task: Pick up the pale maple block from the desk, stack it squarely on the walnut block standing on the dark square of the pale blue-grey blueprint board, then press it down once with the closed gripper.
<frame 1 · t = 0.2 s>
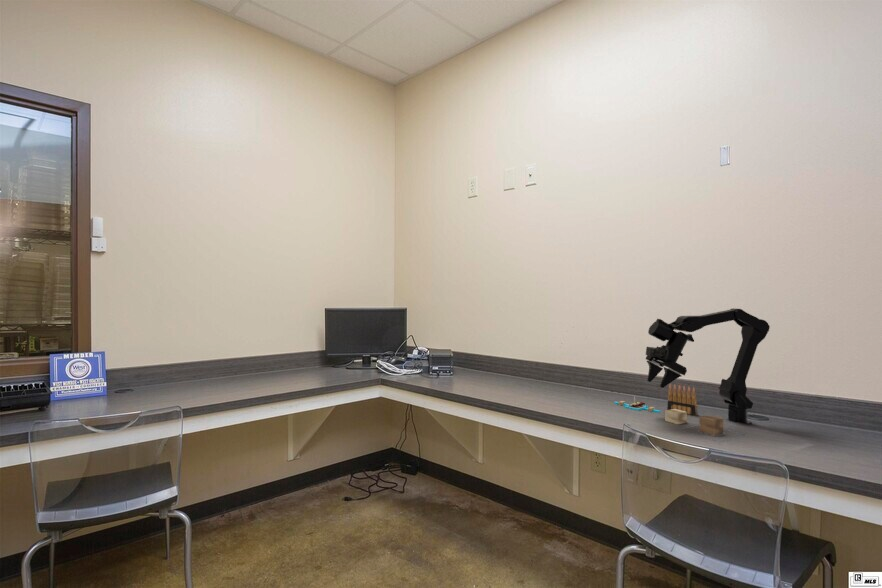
hand: (654, 384, 168), 14 cm above the table, tool tilted 30°, fingers open, 9 cm apart
maple block: (675, 424, 166), on the table
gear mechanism: (637, 409, 191), on the table
blueprint board: (711, 435, 153), on the table
walnut block: (711, 432, 153), point 1 cm above the table, touching blueprint board
ammunition clip: (682, 416, 178), on the table
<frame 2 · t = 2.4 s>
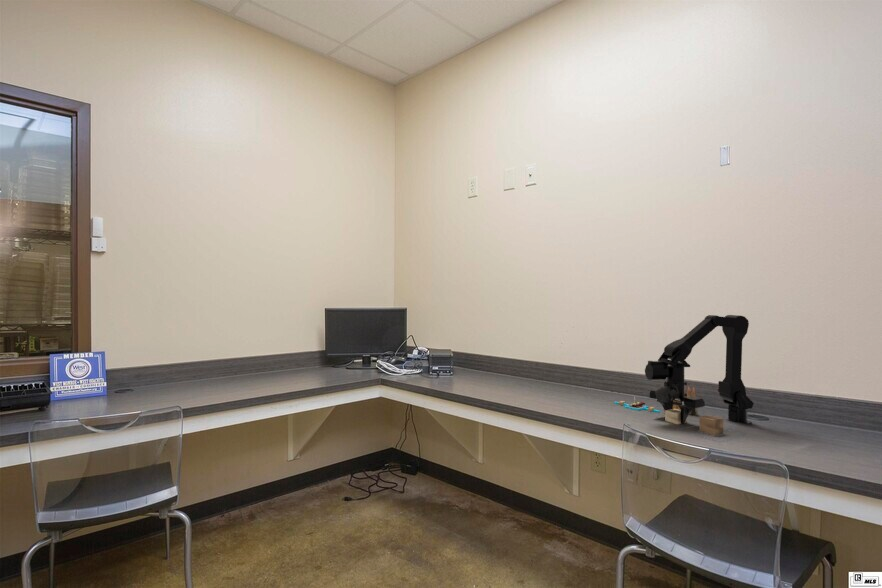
hand: (675, 421, 166), 1 cm above the table, tool pointing down, fingers closed on maple block, 5 cm apart
maple block: (675, 424, 166), on the table, touching gripper
everything else where it was.
when the fingers open (8 cm above the table, at t = 6.0 s): maple block drops 1 cm, resting on walnut block.
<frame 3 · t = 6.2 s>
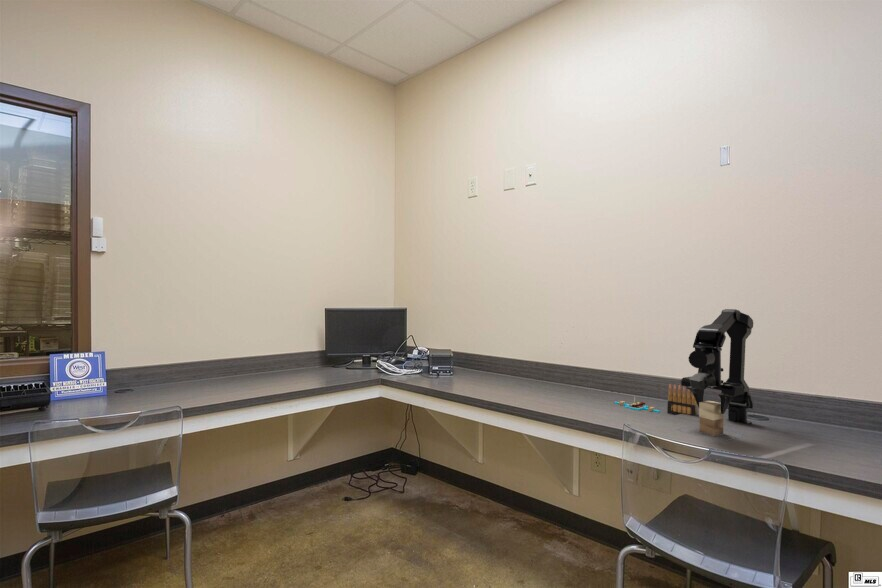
hand: (711, 411, 153), 8 cm above the table, tool pointing down, fingers open, 7 cm apart
maple block: (711, 417, 153), point 6 cm above the table, touching walnut block
walnut block: (711, 432, 153), point 1 cm above the table, touching blueprint board, maple block
everything else where it was.
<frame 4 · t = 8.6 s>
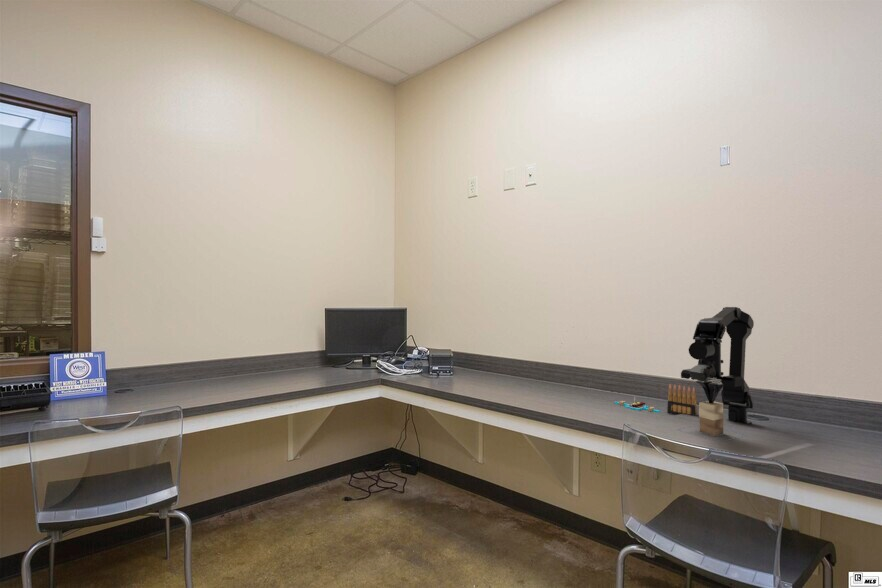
hand: (711, 402, 153), 11 cm above the table, tool pointing down, fingers closed, pressing on maple block
maple block: (711, 417, 153), point 6 cm above the table, touching gripper, walnut block
everything else where it was.
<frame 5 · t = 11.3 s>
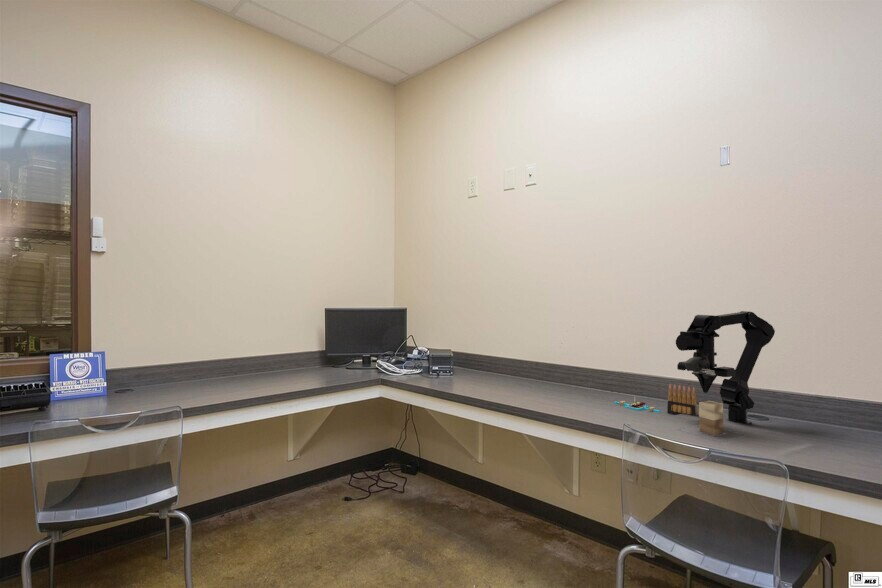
hand: (705, 392, 164), 12 cm above the table, tool pointing down, fingers closed
maple block: (711, 417, 153), point 6 cm above the table, touching walnut block
everything else where it was.
at the end: maple block 0.0 cm off-centre on the walnut block, point 5.0 cm above the walnut block's base; maple block tilted 0°; walnut block moved 0.0 cm from its start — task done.
